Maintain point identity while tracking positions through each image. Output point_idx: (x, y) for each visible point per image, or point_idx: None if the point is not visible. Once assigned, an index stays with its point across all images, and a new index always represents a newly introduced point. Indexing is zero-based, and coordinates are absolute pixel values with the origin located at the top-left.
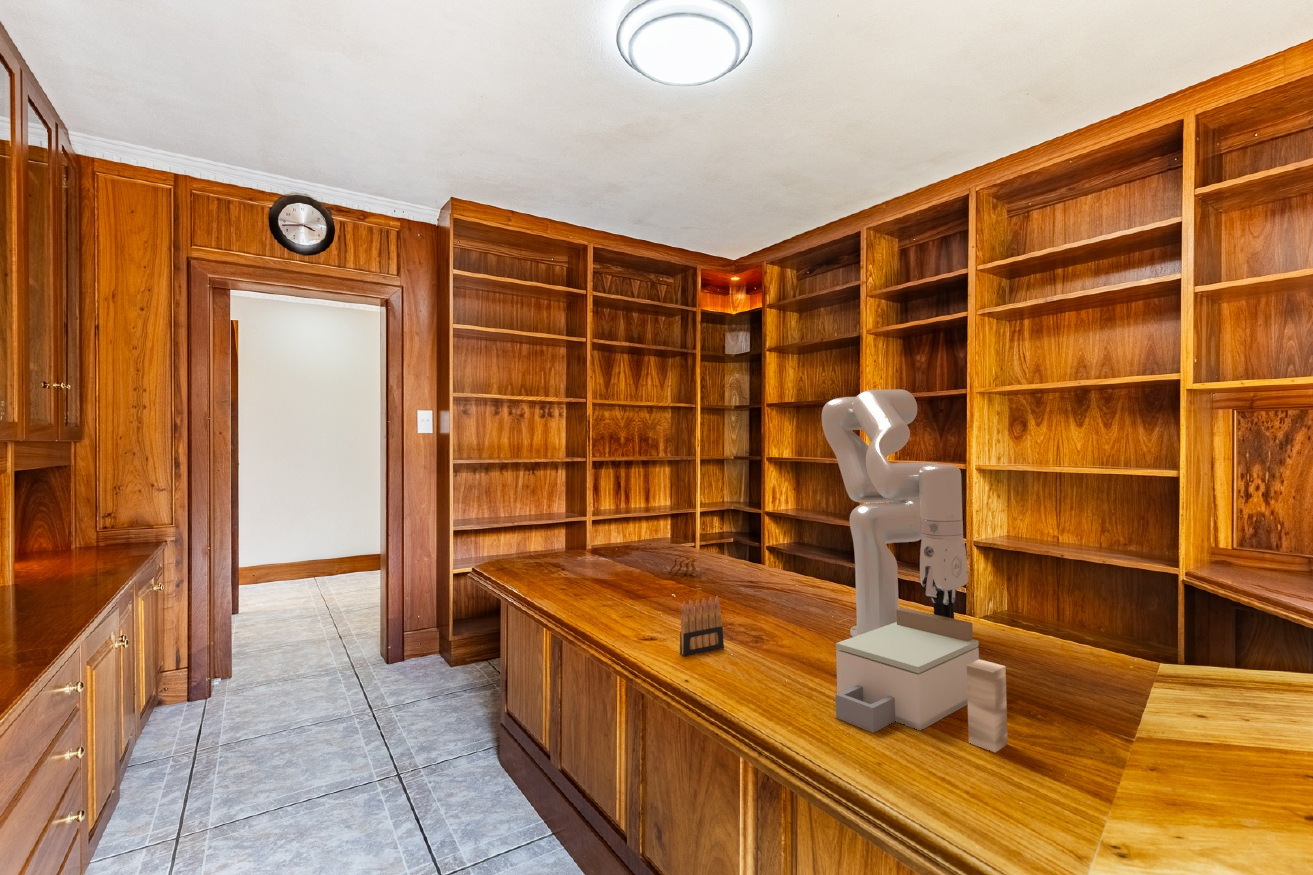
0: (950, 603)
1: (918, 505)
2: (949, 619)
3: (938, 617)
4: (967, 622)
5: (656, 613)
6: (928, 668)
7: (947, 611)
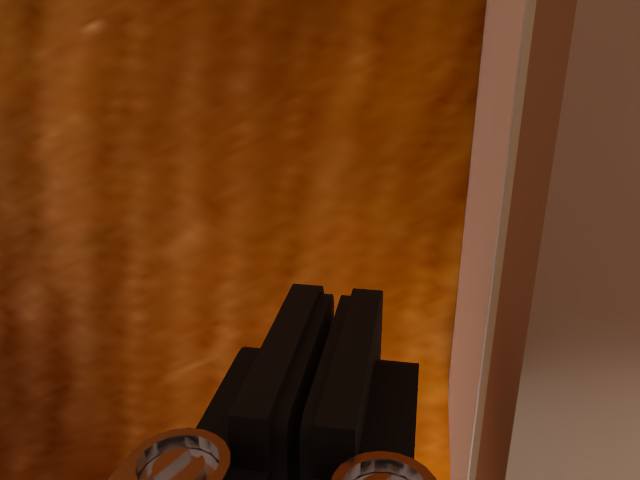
0: (267, 444)
1: None
2: (620, 264)
3: (616, 396)
4: (618, 4)
5: None
6: None
7: (366, 393)
